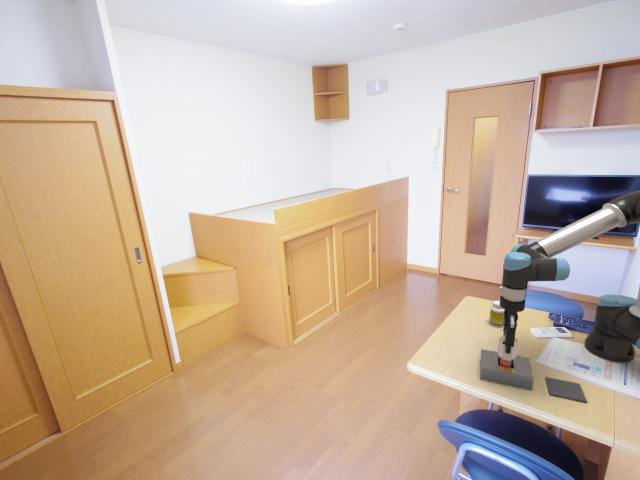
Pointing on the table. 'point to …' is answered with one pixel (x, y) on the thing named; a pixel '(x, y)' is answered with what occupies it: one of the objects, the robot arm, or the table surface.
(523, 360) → the grey flat block
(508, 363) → the plunger
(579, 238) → the robot arm
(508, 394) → the table surface
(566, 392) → the mat
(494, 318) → the pill bottle
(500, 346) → the eye dropper bottle
